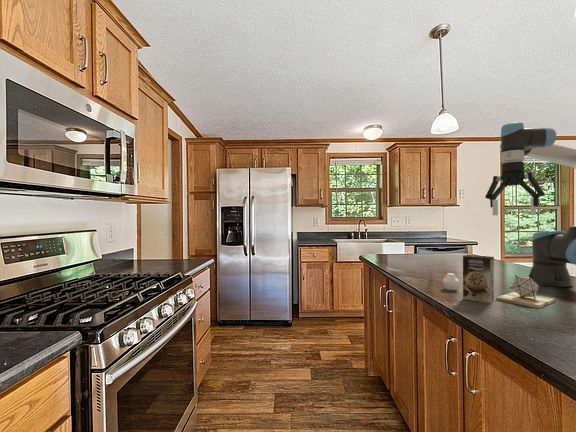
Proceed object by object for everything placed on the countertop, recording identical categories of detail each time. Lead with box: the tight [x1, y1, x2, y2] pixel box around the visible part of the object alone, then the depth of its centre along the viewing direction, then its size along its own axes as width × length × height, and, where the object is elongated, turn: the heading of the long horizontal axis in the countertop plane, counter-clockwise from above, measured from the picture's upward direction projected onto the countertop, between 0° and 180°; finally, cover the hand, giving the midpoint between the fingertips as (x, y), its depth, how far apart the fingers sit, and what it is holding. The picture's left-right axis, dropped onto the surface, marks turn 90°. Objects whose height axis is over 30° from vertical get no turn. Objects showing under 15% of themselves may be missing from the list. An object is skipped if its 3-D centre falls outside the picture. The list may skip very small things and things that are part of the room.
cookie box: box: [462, 254, 495, 304], centre depth 120 cm, size 9×6×16 cm
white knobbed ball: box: [442, 272, 460, 291], centre depth 136 cm, size 6×6×7 cm
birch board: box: [495, 291, 556, 309], centre depth 117 cm, size 14×13×1 cm
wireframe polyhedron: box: [509, 274, 543, 299], centre depth 117 cm, size 9×8×10 cm
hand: (513, 215), depth 130 cm, fingers open, 13 cm apart
